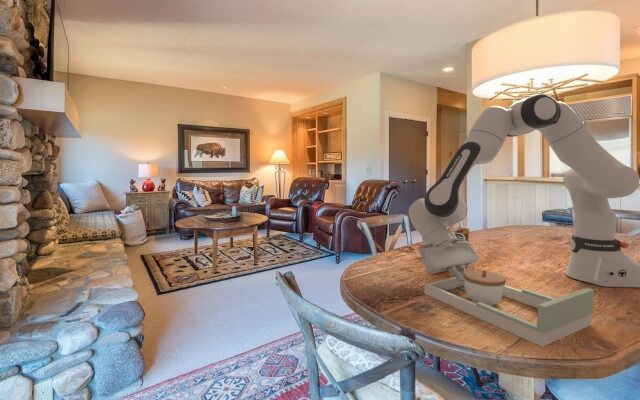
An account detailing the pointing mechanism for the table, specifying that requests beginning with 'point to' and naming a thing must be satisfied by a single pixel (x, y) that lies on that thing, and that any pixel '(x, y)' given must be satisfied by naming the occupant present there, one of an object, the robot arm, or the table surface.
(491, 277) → the lidded jar
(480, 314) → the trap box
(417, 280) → the table surface
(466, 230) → the candy box
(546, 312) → the open rectangular frame
